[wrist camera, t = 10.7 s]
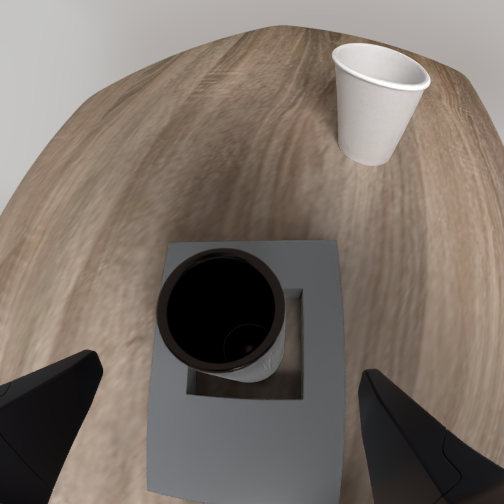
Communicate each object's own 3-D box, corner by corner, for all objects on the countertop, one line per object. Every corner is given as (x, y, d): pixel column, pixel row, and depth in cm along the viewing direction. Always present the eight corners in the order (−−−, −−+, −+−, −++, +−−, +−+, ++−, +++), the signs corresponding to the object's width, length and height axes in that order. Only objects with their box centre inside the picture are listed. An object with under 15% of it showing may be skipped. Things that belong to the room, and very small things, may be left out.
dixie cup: (352, 185, 24) (373, 90, 15) (310, 129, 28) (313, 44, 19) (418, 166, 24) (449, 86, 16) (373, 117, 28) (387, 42, 19)
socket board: (333, 495, 13) (338, 505, 11) (158, 483, 14) (147, 490, 12) (332, 252, 21) (336, 239, 19) (177, 254, 22) (168, 242, 21)
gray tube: (234, 394, 17) (183, 395, 8) (206, 335, 19) (139, 279, 10) (296, 363, 18) (311, 333, 9) (264, 306, 20) (248, 226, 11)
